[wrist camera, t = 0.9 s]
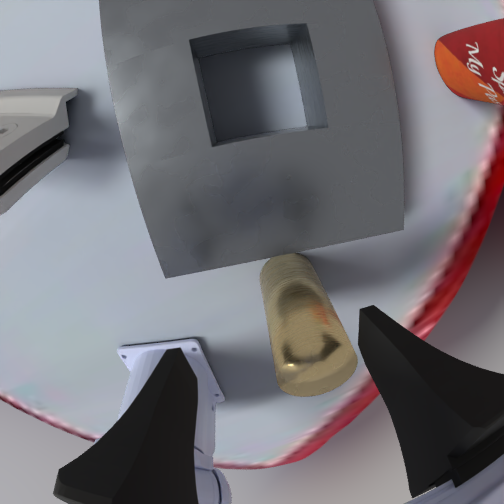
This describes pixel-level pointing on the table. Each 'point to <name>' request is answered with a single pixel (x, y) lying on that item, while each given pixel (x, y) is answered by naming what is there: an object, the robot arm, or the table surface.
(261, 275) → the brass pin
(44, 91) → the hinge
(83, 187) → the table surface
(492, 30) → the paper cup
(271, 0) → the block
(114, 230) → the table surface
